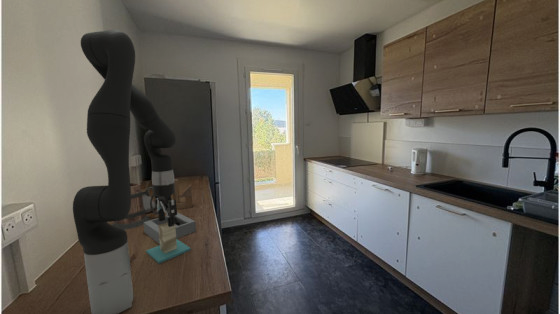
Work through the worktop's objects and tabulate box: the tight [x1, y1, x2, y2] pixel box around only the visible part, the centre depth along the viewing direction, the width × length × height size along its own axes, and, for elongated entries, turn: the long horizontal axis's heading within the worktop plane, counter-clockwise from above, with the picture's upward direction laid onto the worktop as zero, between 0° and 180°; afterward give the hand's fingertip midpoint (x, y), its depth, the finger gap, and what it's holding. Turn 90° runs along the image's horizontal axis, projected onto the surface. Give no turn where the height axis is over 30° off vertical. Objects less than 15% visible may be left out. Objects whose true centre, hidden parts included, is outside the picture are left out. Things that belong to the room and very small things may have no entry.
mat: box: [145, 238, 192, 264], centre depth 89 cm, size 12×12×1 cm
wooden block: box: [172, 178, 193, 210], centre depth 138 cm, size 4×11×18 cm, turn 111°
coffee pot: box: [141, 181, 155, 214], centre depth 138 cm, size 21×12×15 cm, turn 20°
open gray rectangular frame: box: [143, 211, 197, 245], centre depth 106 cm, size 18×16×5 cm
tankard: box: [111, 182, 158, 231], centre depth 118 cm, size 24×17×20 cm
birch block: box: [158, 222, 177, 254], centre depth 88 cm, size 4×4×10 cm
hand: (166, 223), depth 88 cm, fingers open, 8 cm apart
